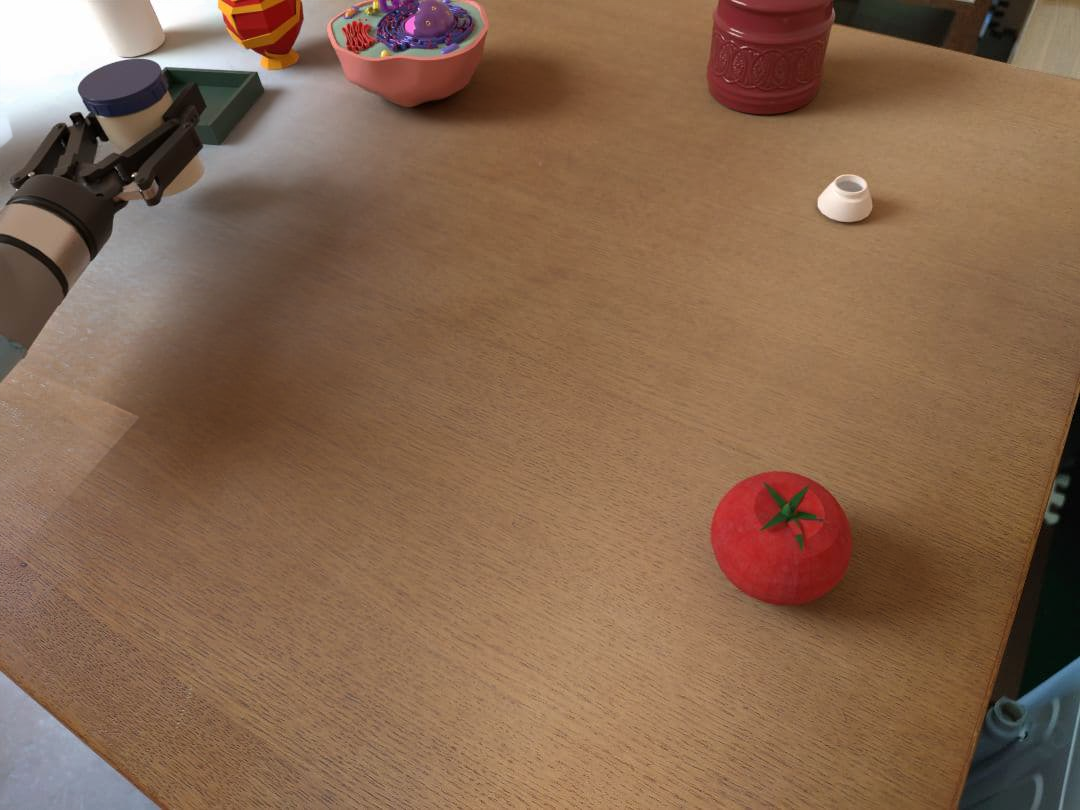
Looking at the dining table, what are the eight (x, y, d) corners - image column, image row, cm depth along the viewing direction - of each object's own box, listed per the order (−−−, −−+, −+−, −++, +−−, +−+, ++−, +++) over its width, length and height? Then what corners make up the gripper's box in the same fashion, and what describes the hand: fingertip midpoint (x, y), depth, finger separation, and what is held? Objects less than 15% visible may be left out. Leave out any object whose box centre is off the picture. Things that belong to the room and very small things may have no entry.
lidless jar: (817, 223, 75) (871, 227, 74) (823, 198, 73) (879, 201, 72) (816, 192, 78) (868, 195, 77) (822, 166, 76) (876, 169, 75)
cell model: (390, 47, 104) (369, -44, 95) (522, 71, 97) (513, -24, 89) (314, 111, 95) (283, 18, 86) (454, 143, 88) (436, 46, 80)
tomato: (825, 644, 49) (856, 588, 43) (690, 598, 52) (700, 539, 46) (848, 529, 54) (878, 465, 48) (723, 493, 57) (737, 427, 51)
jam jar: (122, 194, 81) (67, 101, 73) (158, 155, 85) (110, 63, 77) (183, 199, 79) (134, 105, 71) (216, 159, 84) (174, 66, 76)
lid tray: (123, 137, 94) (112, 118, 92) (174, 85, 102) (165, 66, 100) (219, 145, 92) (210, 125, 90) (264, 91, 99) (257, 71, 97)
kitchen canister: (723, 53, 97) (741, -109, 83) (829, 68, 93) (867, -99, 79) (690, 106, 90) (705, -61, 76) (804, 125, 85) (841, -47, 72)
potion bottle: (324, 67, 102) (287, -57, 90) (245, 87, 100) (197, -38, 88) (311, 34, 108) (275, -87, 97) (237, 51, 106) (191, -69, 95)
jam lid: (70, 114, 74) (60, 98, 72) (116, 73, 78) (107, 56, 77) (141, 119, 72) (132, 102, 71) (183, 76, 77) (176, 59, 75)
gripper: (-29, 267, 70) (93, 127, 85) (176, 272, 68) (266, 127, 82) (-87, 197, 65) (54, 60, 79) (135, 200, 62) (239, 58, 76)
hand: (162, 94), depth 80 cm, fingers closed on jam jar, 7 cm apart
